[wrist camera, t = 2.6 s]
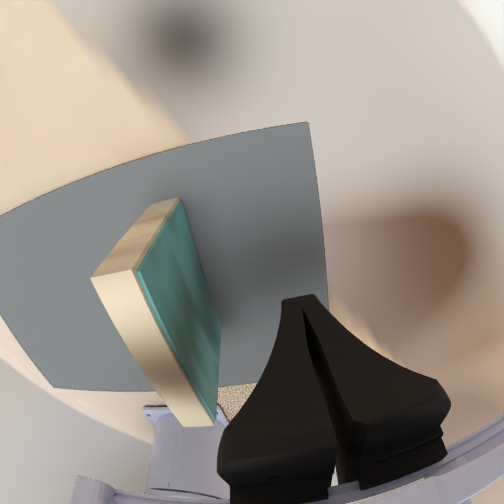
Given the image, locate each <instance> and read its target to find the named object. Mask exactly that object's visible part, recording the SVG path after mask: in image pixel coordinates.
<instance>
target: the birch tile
mask: <svg viewBox="0 0 504 504" xmlns="http://www.w3.org/2000/svg"><path fill="white" fill-rule="evenodd" d="M90 279H91V281H92V283H93V285H94V287H95V289H96V291H97V293H98V295H99V297H100V299H101V301H102V303H103V305H104V307H105V309H106V310H107V312H108V314H109V316H110V318H111V320H112V321H113V323H114V325H115V327H116V328H117V330H118V332H119V334H120V335H121V337H122V339H123V340H124V342H125V344H126V345H127V347H128V349H129V350H130V352H131V354H132V355H133V357H134V358H135V360H136V361H137V363H138V365H139V366H140V368H141V369H142V371H143V372H144V374H145V375H146V377H147V378H148V380H149V381H150V383H151V384H152V385H153V387H154V388H155V390H156V391H157V393H158V394H159V395H160V397H161V398H162V399H163V401H164V402H165V404H166V405H167V406H168V408H169V409H170V410H171V412H172V413H173V414H174V415H175V417H176V418H177V419H178V421H179V422H180V423H181V424H182V426H183V427H202V426H214V423H215V421H216V417H217V397H218V379H219V362H220V347H221V332H222V326H221V323H220V320H219V317H218V314H217V311H216V308H215V306H214V303H213V300H212V297H211V294H210V291H209V288H208V284H207V281H206V278H205V275H204V272H203V269H202V266H201V263H200V260H199V256H198V253H197V250H196V247H195V243H194V240H193V237H192V233H191V230H190V227H189V223H188V220H187V217H186V213H185V210H184V206H183V203H182V201H180V199H179V197H176V198H172V199H168V200H164V201H160V202H156V203H152V204H151V205H150V206H149V207H148V208H147V209H146V210H145V211H144V212H143V214H142V215H141V216H140V217H139V218H138V219H137V220H136V222H135V223H134V224H133V225H132V226H131V227H130V229H129V230H128V231H127V232H126V233H125V234H124V236H123V237H122V238H121V239H120V240H119V242H118V243H117V244H116V245H115V247H114V248H113V249H112V250H111V251H110V253H109V254H108V255H107V256H106V258H105V259H104V260H103V262H102V263H101V264H100V265H99V267H98V268H97V269H96V271H95V272H94V273H93V274H92V276H91V277H90Z"/></svg>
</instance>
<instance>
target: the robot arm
mask: <svg viewBox="0 0 504 504" xmlns="http://www.w3.org/2000/svg"><path fill="white" fill-rule="evenodd" d="M450 407H451V401H450V399H449V397H448V395H447V394H446V392H445V390H444V389H443V388H442V386H441V385H440V384H439V382H438V381H437V380H436V379H433V378H430V377H427V376H424V375H422V374H419V373H416V372H413V371H411V370H409V369H407V368H404V367H402V366H400V365H398V364H396V363H395V362H393V361H391V360H389V359H387V358H385V357H384V356H382V355H380V354H379V353H377V352H376V351H374V350H373V349H371V348H370V347H368V346H367V345H366V344H364V343H363V342H362V341H360V340H359V339H358V338H357V337H355V336H354V335H353V334H352V333H351V332H349V331H348V330H347V329H346V328H345V327H344V326H343V325H342V324H341V323H340V322H339V321H338V320H337V319H336V318H335V317H334V316H333V315H332V314H331V313H330V312H329V311H328V310H327V309H326V308H325V307H324V305H323V304H322V303H321V302H320V301H319V299H318V298H317V297H316V295H314V294H308V295H303V296H298V297H293V298H288V299H283V300H282V301H281V317H280V324H279V328H278V332H277V337H276V340H275V343H274V346H273V349H272V352H271V355H270V358H269V360H268V362H267V365H266V367H265V369H264V371H263V373H262V375H261V377H260V379H259V381H258V383H257V385H256V387H255V388H254V390H253V392H252V393H251V395H250V396H249V398H248V399H247V401H246V402H245V404H244V405H243V407H242V408H241V409H240V411H239V412H238V413H237V414H236V416H235V417H234V418H233V419H232V420H231V422H230V423H229V422H228V421H227V419H226V417H225V415H224V413H223V412H222V410H221V408H220V407H219V406H218V405H217V417H216V421H215V423H214V426H202V427H183V426H182V424H181V423H180V422H179V421H178V419H177V418H176V417H175V415H174V414H173V413H172V412H171V410H170V409H169V408H168V407H144V408H143V409H142V412H143V413H144V415H145V416H146V417H147V418H148V419H149V420H150V421H151V423H152V424H153V425H154V426H155V427H156V432H155V437H154V443H153V448H152V454H151V460H150V466H149V473H148V479H147V486H146V490H145V492H144V494H141V493H134V492H128V491H123V490H118V489H114V488H113V487H112V486H110V485H109V484H107V483H105V482H102V481H99V480H96V479H91V478H87V477H84V476H80V475H79V476H77V477H76V481H75V485H74V489H73V493H72V497H71V501H70V504H346V503H350V502H354V501H358V500H361V499H365V498H368V497H371V496H375V495H378V494H381V493H384V492H387V491H390V490H393V489H395V488H398V487H401V486H403V485H406V484H409V483H411V482H414V481H416V480H418V479H421V478H423V477H425V476H426V477H425V478H424V480H422V481H419V482H417V483H414V484H412V485H409V486H407V487H404V488H401V489H399V490H396V491H393V492H390V493H388V494H385V495H381V496H379V497H375V498H372V499H369V500H366V501H362V502H358V503H355V504H471V501H470V498H471V497H473V496H474V495H476V494H478V493H479V492H481V491H482V490H484V489H486V488H487V487H489V486H490V485H491V484H493V483H495V482H496V481H497V480H499V479H500V478H501V477H503V476H504V414H502V415H501V416H499V417H498V418H496V419H495V420H493V421H491V422H490V423H488V424H487V425H485V426H483V427H482V428H480V429H478V430H477V431H475V432H473V433H471V434H470V435H468V436H466V437H464V438H462V439H461V440H459V441H457V442H455V443H453V444H451V445H449V446H447V447H445V445H444V443H443V441H442V438H441V437H442V436H443V431H442V429H441V427H440V425H441V423H442V422H443V420H444V418H445V417H446V416H447V414H448V412H449V410H450ZM335 466H336V472H337V478H338V485H337V486H332V487H331V481H332V475H333V474H334V469H335ZM229 497H230V499H228V498H229Z"/></svg>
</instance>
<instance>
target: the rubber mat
mask: <svg viewBox="0 0 504 504" xmlns="http://www.w3.org/2000/svg"><path fill="white" fill-rule="evenodd" d="M176 197H179V199H180V201H182V203H183V206H184V210H185V213H186V217H187V220H188V223H189V227H190V230H191V233H192V237H193V240H194V243H195V247H196V250H197V253H198V256H199V260H200V263H201V266H202V269H203V272H204V275H205V278H206V281H207V284H208V288H209V291H210V294H211V297H212V300H213V303H214V306H215V308H216V311H217V314H218V317H219V320H220V323H221V326H222V332H221V347H220V362H219V379H218V387H225V386H234V385H242V384H249V383H257V382H258V381H259V379H260V377H261V375H262V373H263V371H264V369H265V367H266V365H267V362H268V360H269V358H270V355H271V352H272V349H273V346H274V343H275V340H276V337H277V332H278V328H279V324H280V317H281V301H282V300H283V299H288V298H293V297H298V296H303V295H308V294H314V295H316V297H317V298H318V299H319V301H320V302H321V303H322V304H323V305H324V307H325V308H326V309H327V310H328V311H329V306H328V288H327V274H326V262H325V248H324V237H323V228H322V218H321V209H320V200H319V192H318V184H317V176H316V169H315V162H314V155H313V149H312V142H311V136H310V129H309V123H308V122H301V123H295V124H287V125H281V126H275V127H269V128H263V129H258V130H252V131H247V132H242V133H237V134H233V135H228V136H223V137H218V138H214V139H210V140H206V141H201V142H197V143H193V144H189V145H186V146H182V147H178V148H174V149H171V150H167V151H164V152H160V153H157V154H153V155H150V156H147V157H144V158H140V159H137V160H134V161H131V162H128V163H125V164H122V165H119V166H116V167H113V168H110V169H108V170H105V171H102V172H99V173H97V174H94V175H91V176H89V177H86V178H83V179H81V180H78V181H76V182H73V183H71V184H68V185H66V186H64V187H61V188H59V189H56V190H54V191H52V192H50V193H47V194H45V195H43V196H41V197H38V198H36V199H34V200H32V201H30V202H28V203H26V204H24V205H22V206H19V207H17V208H15V209H13V210H11V211H10V212H8V213H6V214H4V215H2V216H0V315H1V317H2V318H3V320H4V322H5V323H6V325H7V326H8V328H9V329H10V331H11V332H12V334H13V335H14V337H15V338H16V340H17V341H18V343H19V344H20V346H21V347H22V348H23V350H24V351H25V353H26V354H27V355H28V357H29V358H30V359H31V361H32V362H33V363H34V365H35V366H36V367H37V368H38V370H39V371H40V372H41V373H42V375H43V376H44V377H45V378H46V379H47V381H48V382H49V383H50V384H51V385H52V387H53V388H61V389H73V390H88V391H114V392H148V391H156V390H155V388H154V387H153V385H152V384H151V383H150V381H149V380H148V378H147V377H146V375H145V374H144V372H143V371H142V369H141V368H140V366H139V365H138V363H137V361H136V360H135V358H134V357H133V355H132V354H131V352H130V350H129V349H128V347H127V345H126V344H125V342H124V340H123V339H122V337H121V335H120V334H119V332H118V330H117V328H116V327H115V325H114V323H113V321H112V320H111V318H110V316H109V314H108V312H107V310H106V309H105V307H104V305H103V303H102V301H101V299H100V297H99V295H98V293H97V291H96V289H95V287H94V285H93V283H92V281H91V279H90V277H91V276H92V274H93V273H94V272H95V271H96V269H97V268H98V267H99V265H100V264H101V263H102V262H103V260H104V259H105V258H106V256H107V255H108V254H109V253H110V251H111V250H112V249H113V248H114V247H115V245H116V244H117V243H118V242H119V240H120V239H121V238H122V237H123V236H124V234H125V233H126V232H127V231H128V230H129V229H130V227H131V226H132V225H133V224H134V223H135V222H136V220H137V219H138V218H139V217H140V216H141V215H142V214H143V212H144V211H145V210H146V209H147V208H148V207H149V206H150V205H151V204H152V203H156V202H160V201H164V200H168V199H172V198H176Z"/></svg>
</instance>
